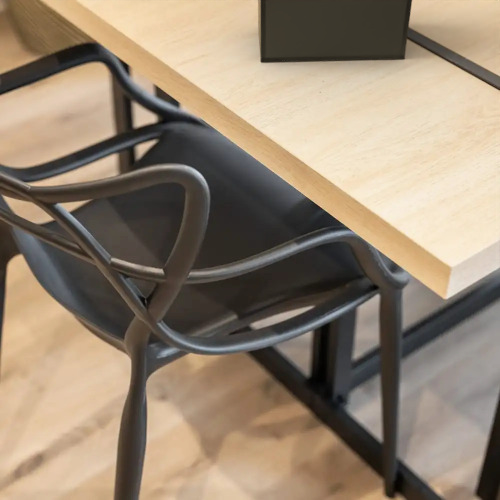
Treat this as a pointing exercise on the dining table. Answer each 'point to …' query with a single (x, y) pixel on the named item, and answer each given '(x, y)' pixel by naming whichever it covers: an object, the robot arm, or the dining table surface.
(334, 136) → the dining table surface
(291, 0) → the caddy
